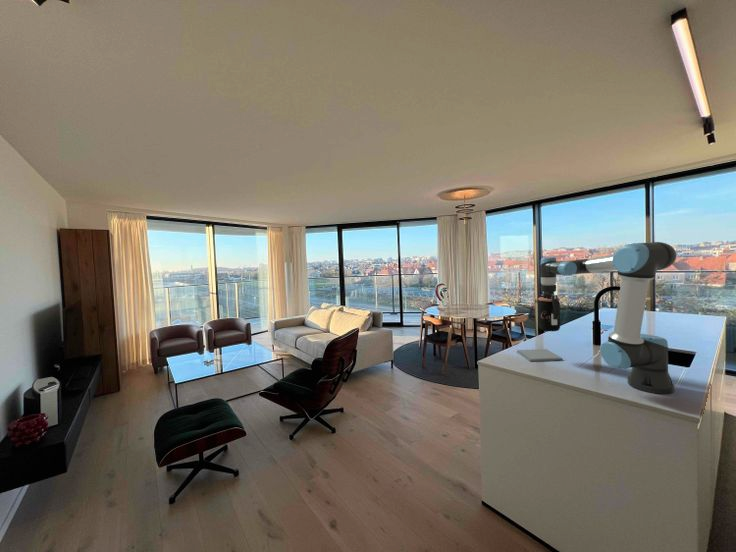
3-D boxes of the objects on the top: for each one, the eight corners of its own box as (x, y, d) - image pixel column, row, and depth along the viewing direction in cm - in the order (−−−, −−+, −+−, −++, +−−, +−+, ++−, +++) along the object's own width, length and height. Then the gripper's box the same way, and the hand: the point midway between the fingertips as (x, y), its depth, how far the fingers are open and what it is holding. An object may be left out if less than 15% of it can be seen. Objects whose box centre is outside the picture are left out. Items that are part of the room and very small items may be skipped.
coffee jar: (538, 330, 171) (538, 299, 170) (538, 326, 180) (537, 296, 179) (561, 332, 166) (560, 300, 165) (559, 327, 175) (558, 297, 174)
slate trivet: (562, 360, 172) (562, 358, 172) (530, 361, 174) (529, 359, 173) (546, 350, 190) (545, 348, 190) (516, 352, 191) (516, 350, 191)
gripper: (567, 286, 160) (567, 327, 161) (544, 282, 182) (545, 317, 184) (552, 287, 160) (553, 327, 162) (532, 282, 183) (532, 318, 185)
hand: (549, 322), depth 173 cm, fingers closed on coffee jar, 11 cm apart
